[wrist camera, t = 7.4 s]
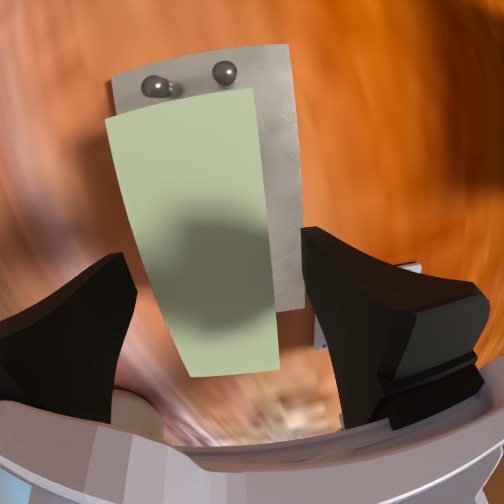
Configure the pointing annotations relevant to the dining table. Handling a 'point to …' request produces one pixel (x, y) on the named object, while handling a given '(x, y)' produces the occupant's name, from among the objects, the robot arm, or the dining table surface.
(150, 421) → the teacup
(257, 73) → the plate
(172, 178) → the pale green rectangular block
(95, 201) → the dining table surface
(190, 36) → the dining table surface
